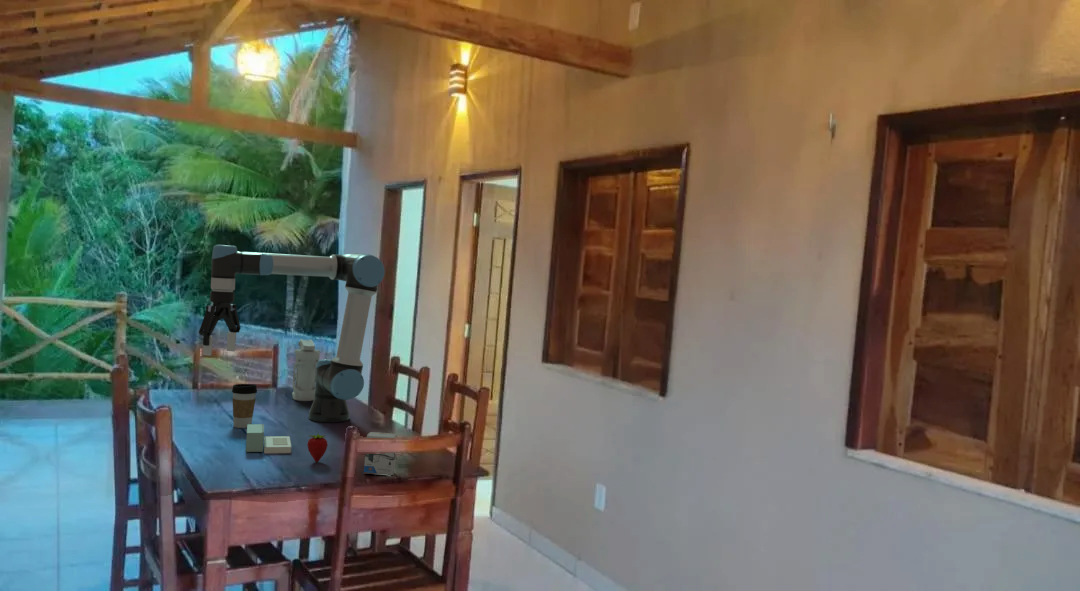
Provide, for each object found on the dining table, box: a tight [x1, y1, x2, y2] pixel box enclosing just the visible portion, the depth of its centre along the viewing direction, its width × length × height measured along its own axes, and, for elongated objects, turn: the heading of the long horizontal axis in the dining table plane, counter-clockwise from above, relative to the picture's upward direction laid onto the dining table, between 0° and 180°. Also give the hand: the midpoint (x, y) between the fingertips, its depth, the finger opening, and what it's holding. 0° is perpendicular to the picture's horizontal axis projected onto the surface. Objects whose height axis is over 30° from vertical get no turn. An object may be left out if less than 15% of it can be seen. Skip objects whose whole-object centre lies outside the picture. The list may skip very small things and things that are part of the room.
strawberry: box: [307, 429, 328, 463], centre depth 233 cm, size 6×8×10 cm
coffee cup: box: [231, 383, 258, 429], centre depth 271 cm, size 8×8×15 cm
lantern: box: [291, 338, 321, 402], centre depth 330 cm, size 13×10×25 cm
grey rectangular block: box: [245, 423, 265, 453], centre depth 244 cm, size 5×12×6 cm, turn 20°
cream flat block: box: [263, 435, 292, 454], centre depth 246 cm, size 8×14×2 cm, turn 20°
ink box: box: [363, 431, 398, 475], centre depth 226 cm, size 9×5×12 cm, turn 92°
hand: (219, 353), depth 258 cm, fingers open, 13 cm apart
